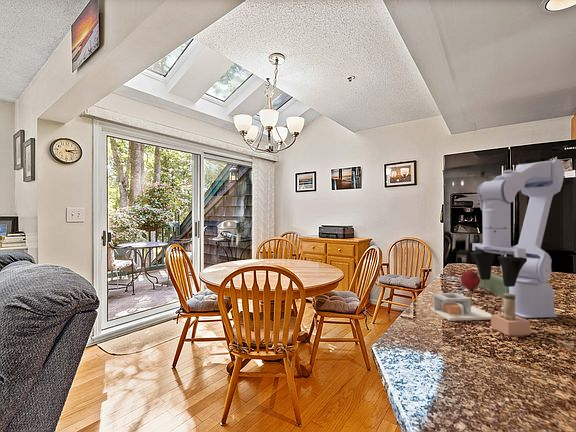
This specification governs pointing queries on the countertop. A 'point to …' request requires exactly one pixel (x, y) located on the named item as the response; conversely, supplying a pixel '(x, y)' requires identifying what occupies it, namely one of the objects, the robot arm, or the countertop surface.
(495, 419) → the countertop surface
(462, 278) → the onion
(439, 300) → the square socket plate
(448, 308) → the button
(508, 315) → the stylus
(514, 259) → the robot arm
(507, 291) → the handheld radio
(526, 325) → the stylus holder
